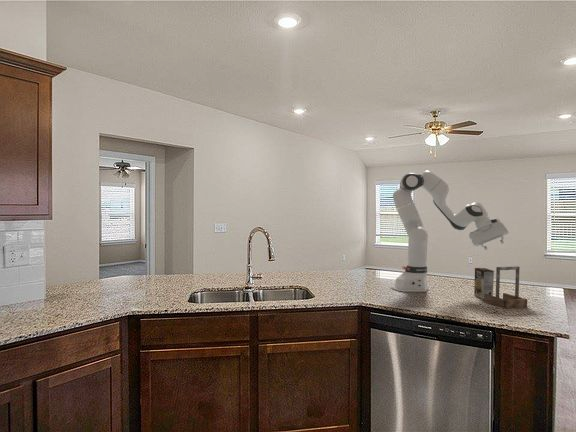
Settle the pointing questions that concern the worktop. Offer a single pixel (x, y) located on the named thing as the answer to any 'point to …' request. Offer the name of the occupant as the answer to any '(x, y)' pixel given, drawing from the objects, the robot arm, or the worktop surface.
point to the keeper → (508, 299)
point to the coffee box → (483, 282)
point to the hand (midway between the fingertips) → (494, 246)
